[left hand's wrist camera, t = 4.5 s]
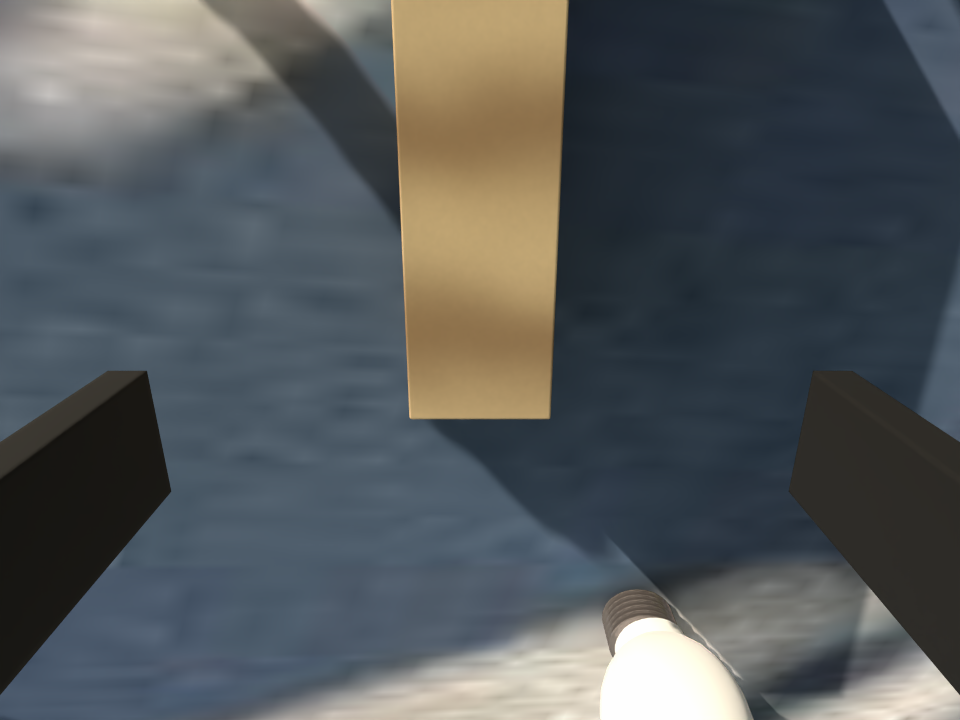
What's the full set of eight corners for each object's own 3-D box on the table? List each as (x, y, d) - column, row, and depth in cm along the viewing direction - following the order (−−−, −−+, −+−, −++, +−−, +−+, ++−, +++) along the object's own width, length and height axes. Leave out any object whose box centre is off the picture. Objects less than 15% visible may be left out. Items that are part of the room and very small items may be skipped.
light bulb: (555, 624, 35) (586, 829, 25) (636, 545, 33) (706, 732, 23) (643, 678, 37) (707, 894, 26) (726, 606, 35) (829, 808, 25)
